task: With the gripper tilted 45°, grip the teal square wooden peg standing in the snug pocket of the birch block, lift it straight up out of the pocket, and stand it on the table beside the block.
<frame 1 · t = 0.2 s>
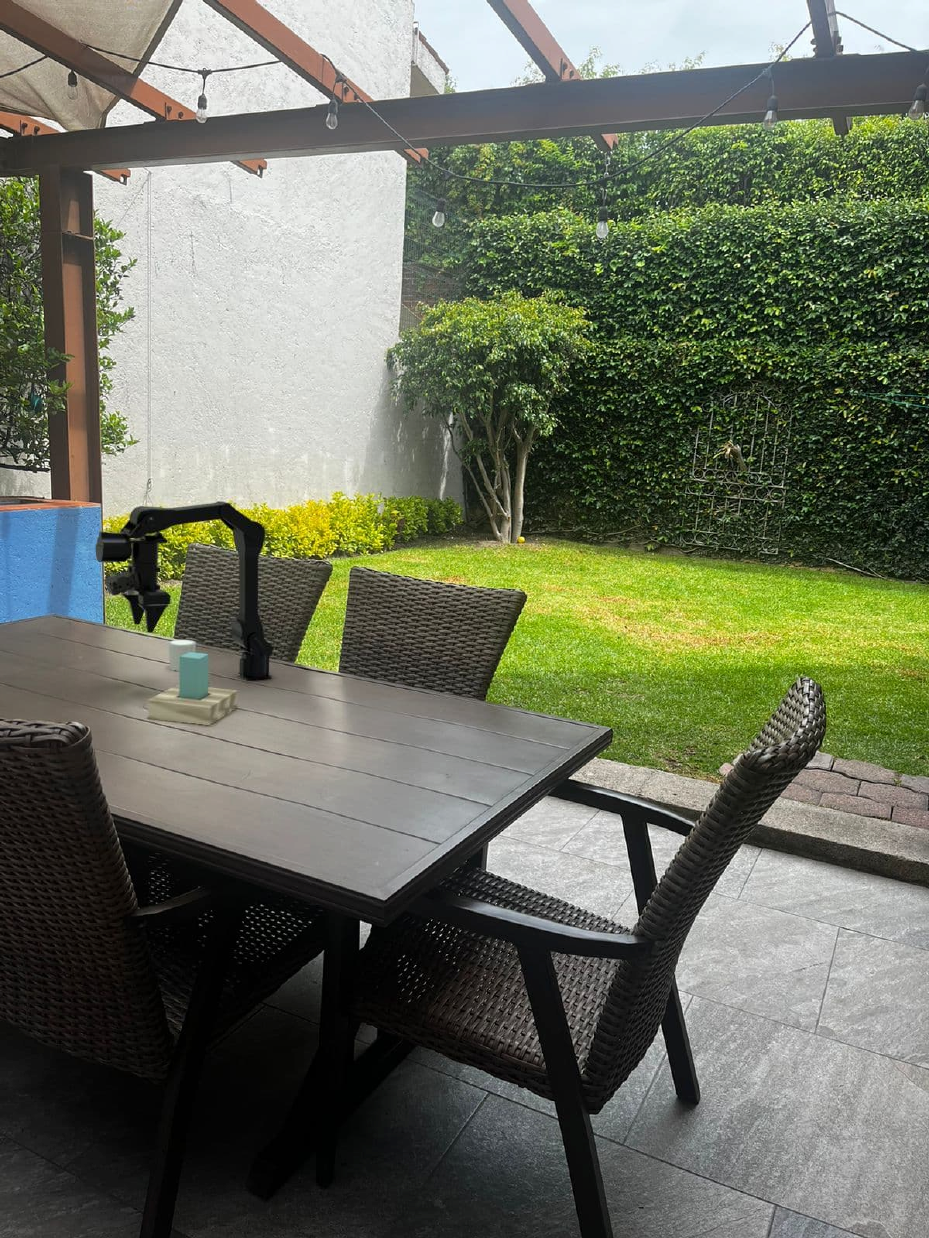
hand: (143, 628, 213), 15 cm above the table, tool pointing down, fingers open, 9 cm apart
white short cylinder: (181, 669, 235), on the table
pocket block: (193, 712, 200), on the table
peg: (194, 684, 199), in the pocket block
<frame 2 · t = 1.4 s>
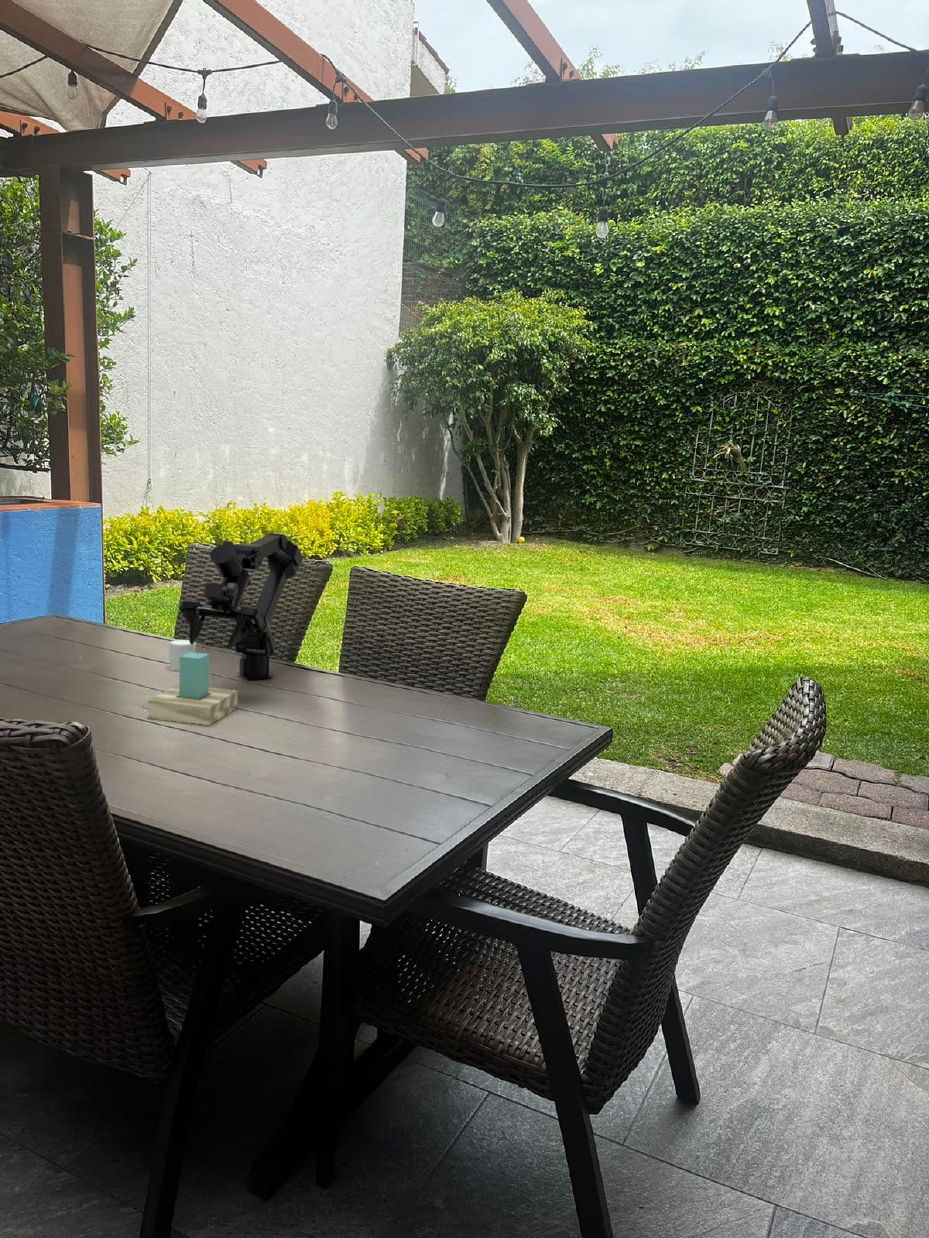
hand: (209, 645, 206), 13 cm above the table, tool tilted 45°, fingers open, 9 cm apart
nothing on the table moved.
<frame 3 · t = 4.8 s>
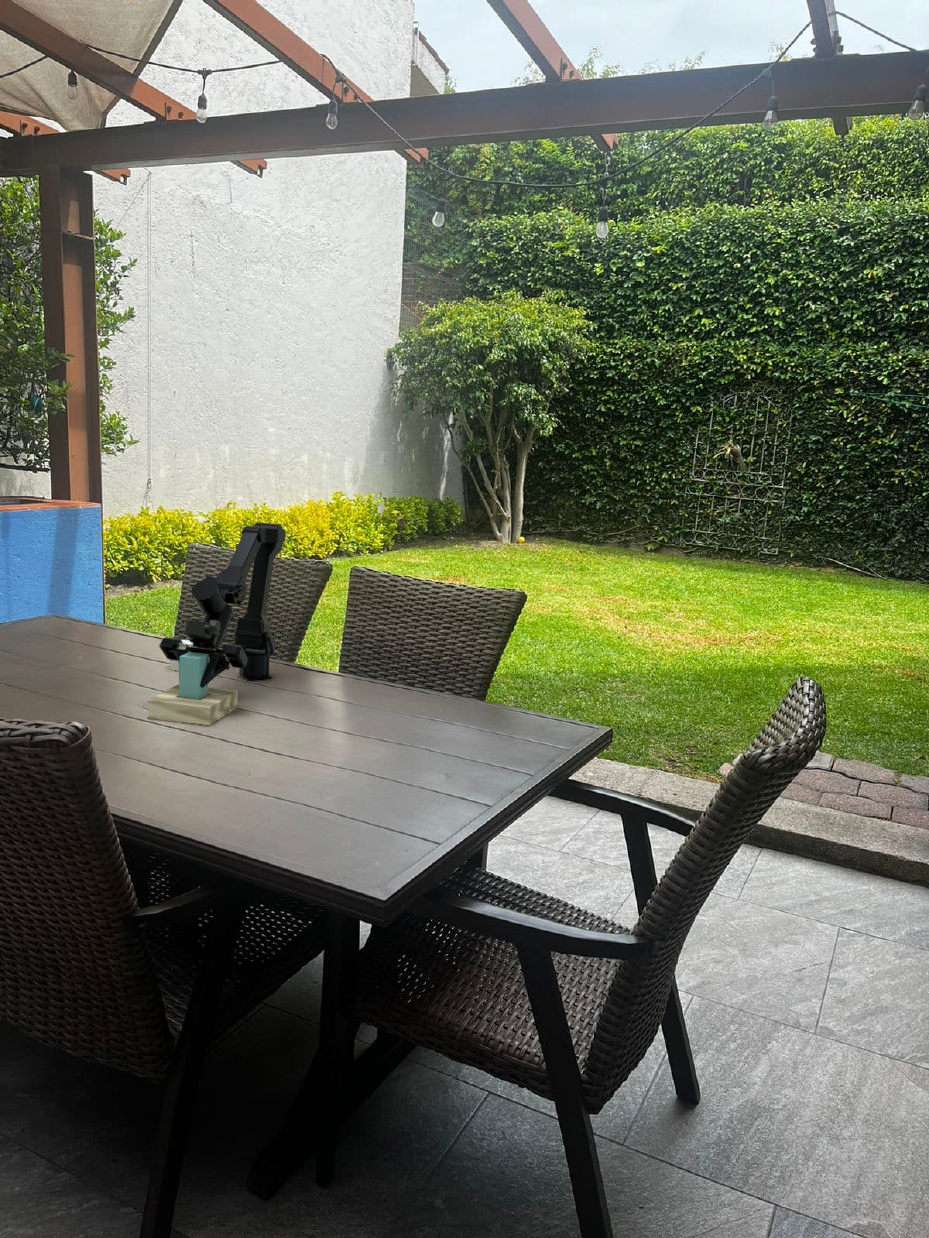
hand: (190, 685, 198), 7 cm above the table, tool tilted 45°, fingers closed on peg, 4 cm apart
peg: (193, 684, 199), in the pocket block, touching gripper
everything else where it was.
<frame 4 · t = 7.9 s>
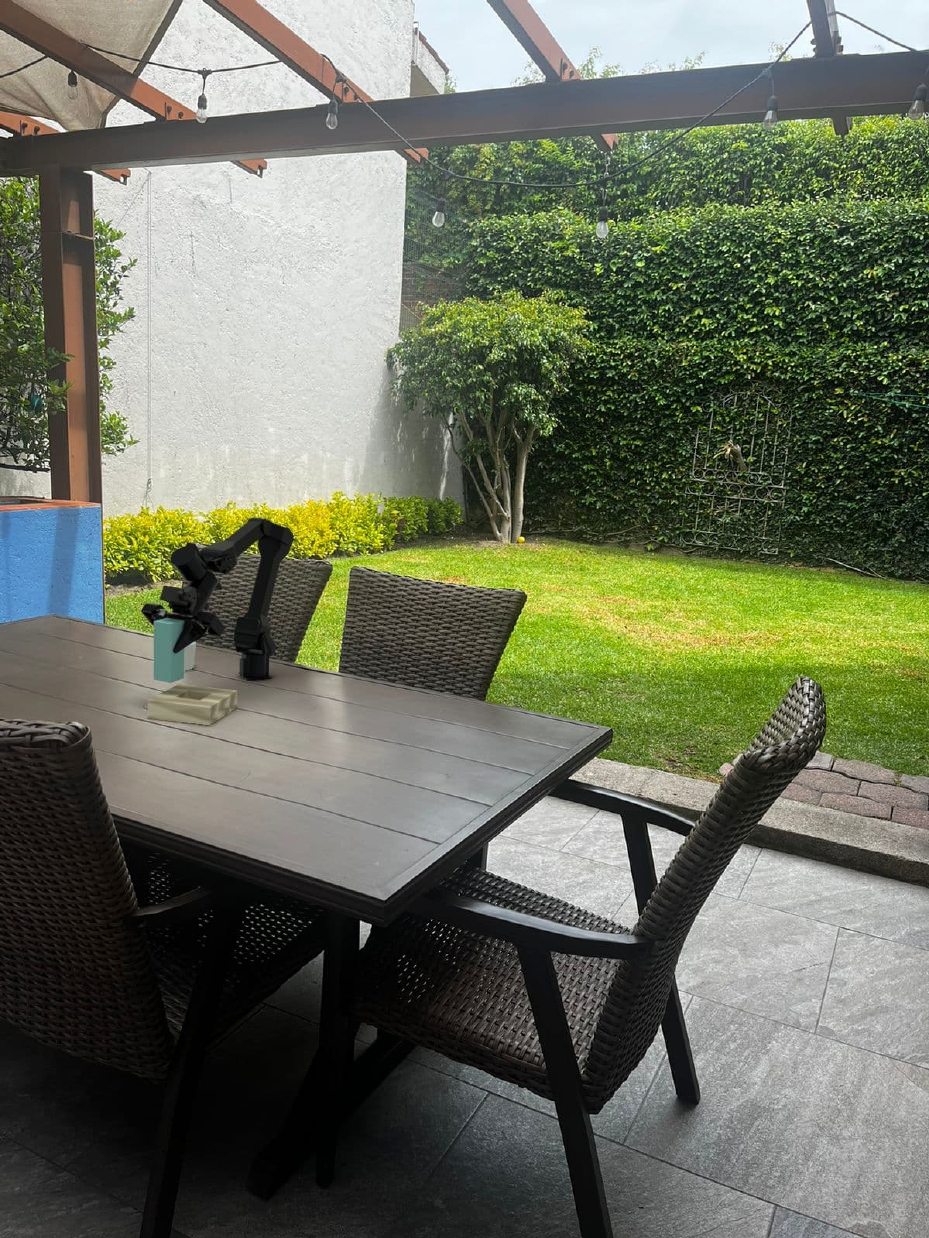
hand: (164, 650, 198), 13 cm above the table, tool tilted 45°, fingers closed on peg, 4 cm apart
peg: (169, 650, 199), point 13 cm above the table, touching gripper
everything else where it was.
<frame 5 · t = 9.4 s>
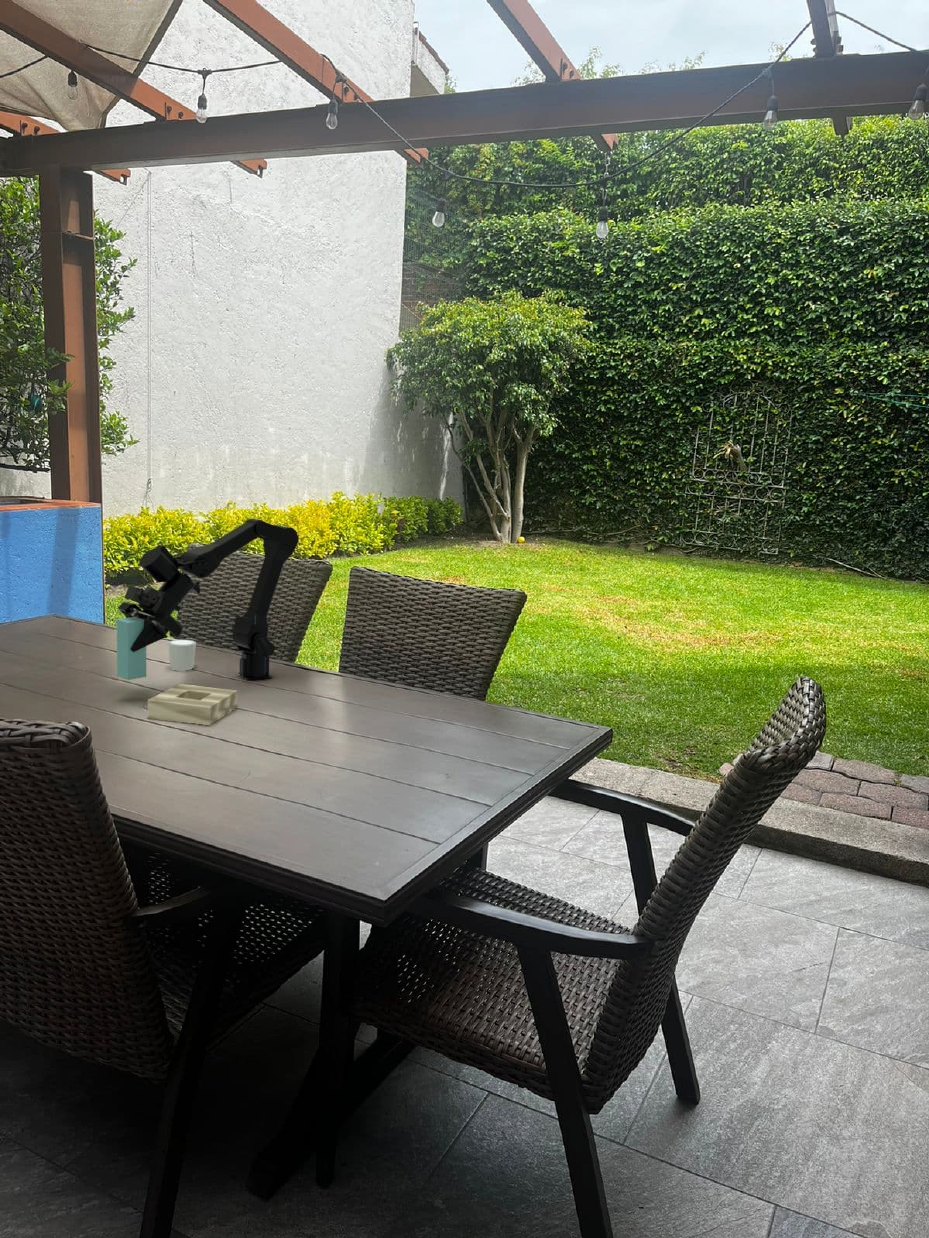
hand: (126, 648, 204), 12 cm above the table, tool tilted 45°, fingers closed on peg, 4 cm apart
peg: (131, 648, 205), point 12 cm above the table, touching gripper
everything else where it was.
when the fingers open (8 cm above the table, at t = 10.9 s): peg drops 1 cm, on the table.
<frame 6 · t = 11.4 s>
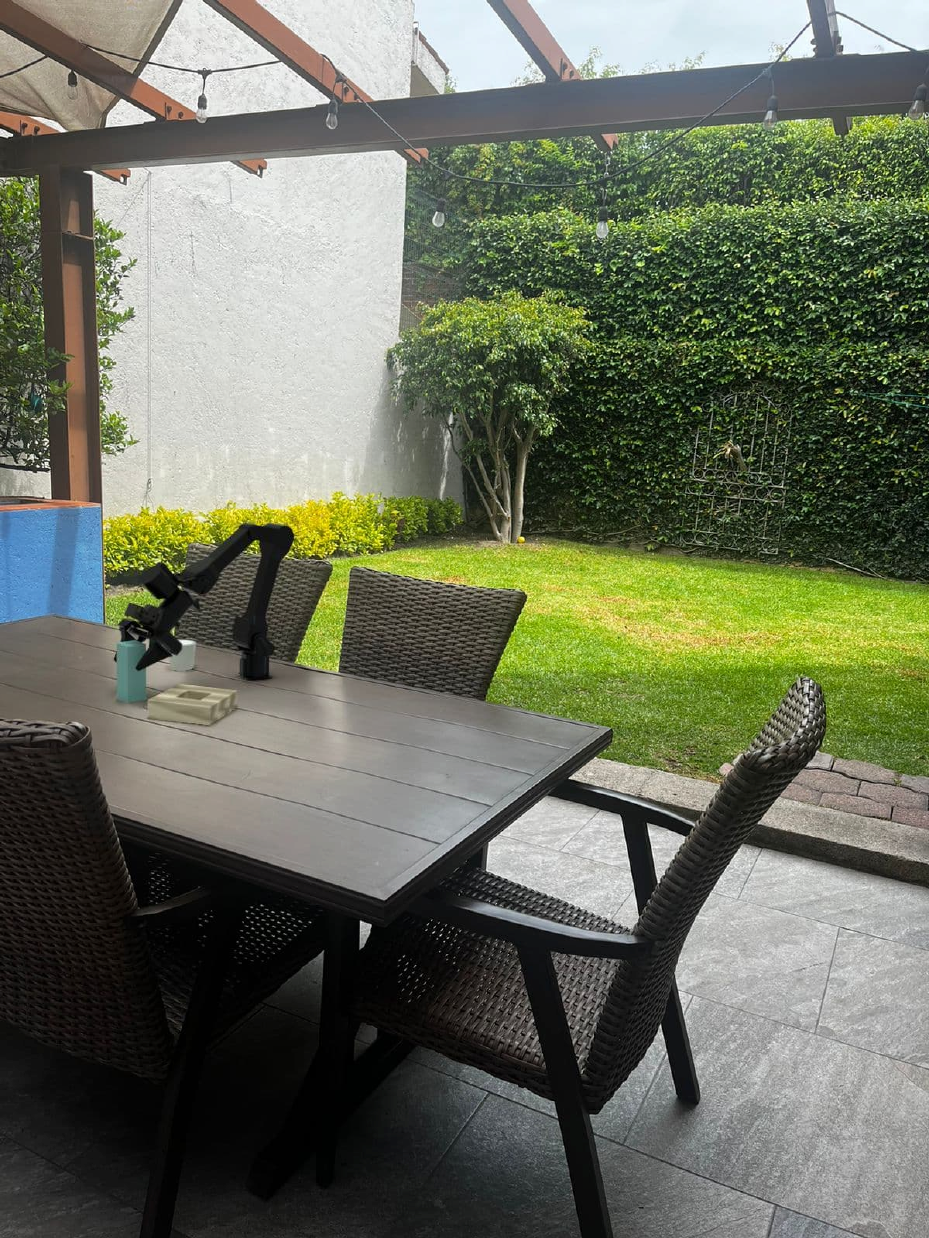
hand: (125, 665, 204), 8 cm above the table, tool tilted 45°, fingers open, 9 cm apart
peg: (131, 671, 206), on the table
everything else where it was.
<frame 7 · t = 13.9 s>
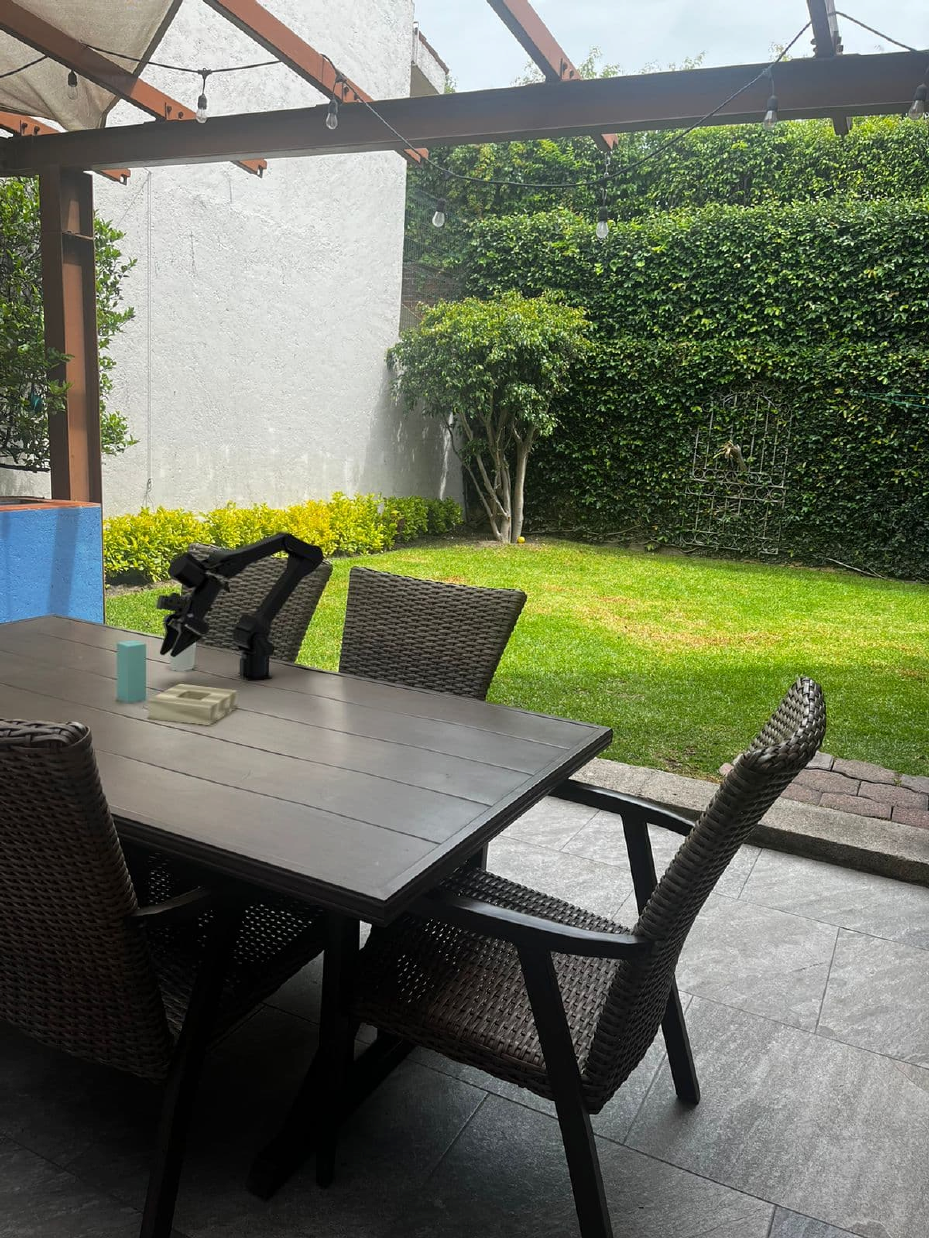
hand: (166, 655, 213), 9 cm above the table, tool tilted 35°, fingers open, 9 cm apart
nothing on the table moved.
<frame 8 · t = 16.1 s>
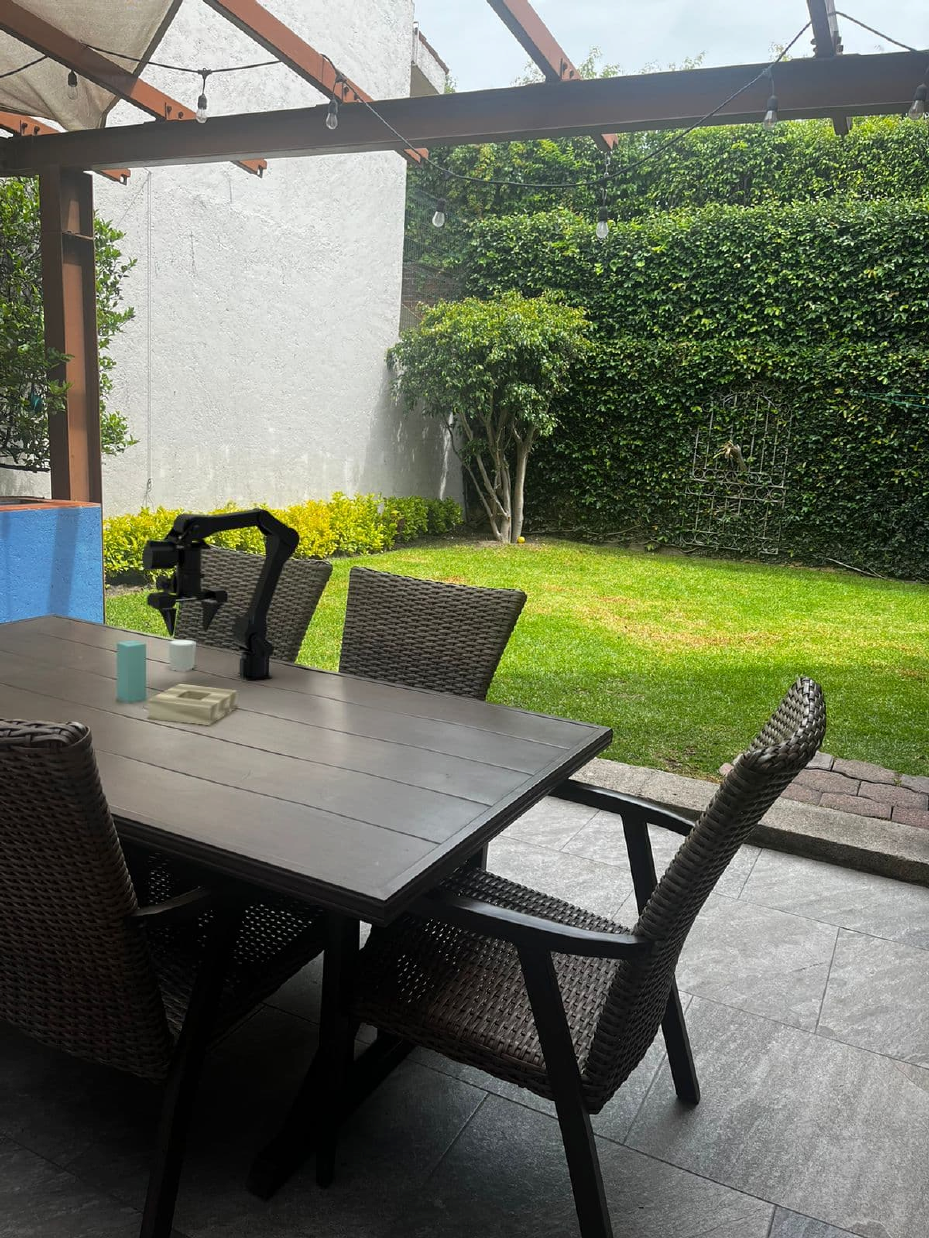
hand: (188, 633, 218), 13 cm above the table, tool pointing down, fingers open, 9 cm apart
nothing on the table moved.
at the end: peg inside the target area (0.0 cm from its centre), on the table; peg tilted 0°; peg touching table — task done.
